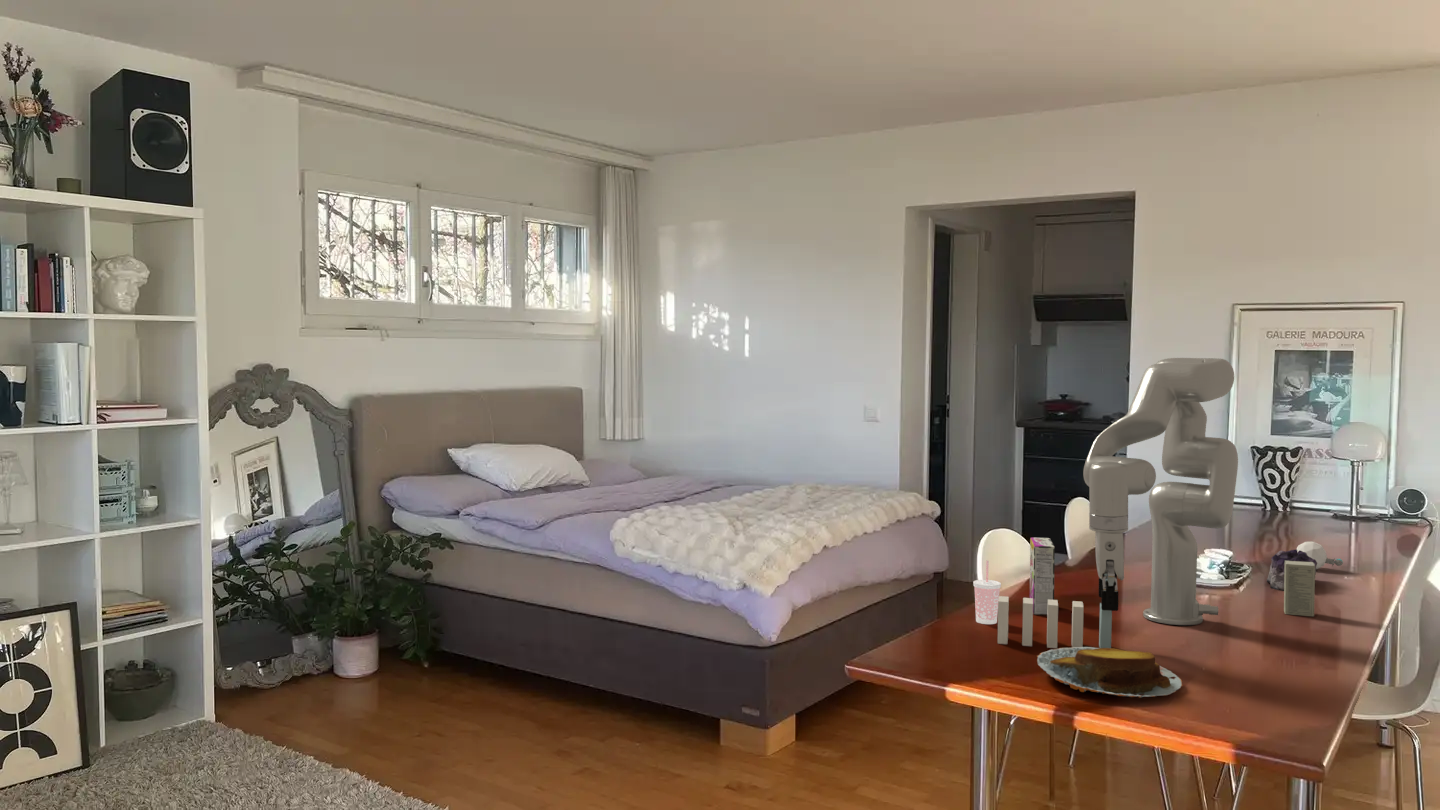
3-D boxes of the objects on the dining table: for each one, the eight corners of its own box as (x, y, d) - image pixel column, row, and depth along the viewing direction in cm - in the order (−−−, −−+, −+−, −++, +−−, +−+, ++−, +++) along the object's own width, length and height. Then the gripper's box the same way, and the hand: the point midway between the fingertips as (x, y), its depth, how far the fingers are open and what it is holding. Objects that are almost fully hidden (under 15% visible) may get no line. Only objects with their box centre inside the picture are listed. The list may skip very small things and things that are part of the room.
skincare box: (1312, 613, 250) (1314, 562, 249) (1314, 617, 246) (1316, 565, 245) (1282, 610, 252) (1284, 559, 252) (1283, 614, 248) (1285, 563, 248)
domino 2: (1032, 639, 226) (1033, 598, 226) (1032, 646, 221) (1032, 603, 221) (1022, 639, 227) (1023, 597, 226) (1022, 645, 222) (1023, 603, 221)
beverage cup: (985, 626, 237) (986, 564, 236) (966, 620, 242) (967, 559, 242) (1006, 623, 240) (1007, 561, 239) (987, 616, 245) (988, 557, 244)
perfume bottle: (1293, 551, 305) (1341, 560, 300) (1290, 572, 300) (1339, 581, 295) (1297, 532, 301) (1346, 541, 295) (1295, 553, 295) (1344, 562, 290)
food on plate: (1113, 656, 215) (1114, 624, 215) (1213, 695, 192) (1214, 659, 191) (1007, 670, 206) (1007, 636, 205) (1099, 713, 182) (1100, 674, 182)
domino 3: (1056, 641, 225) (1057, 599, 224) (1057, 648, 220) (1058, 605, 219) (1046, 641, 225) (1047, 599, 225) (1047, 647, 221) (1048, 604, 220)
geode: (1313, 595, 268) (1308, 556, 268) (1262, 595, 275) (1257, 557, 275) (1322, 578, 284) (1318, 541, 284) (1274, 578, 291) (1270, 542, 291)
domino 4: (1081, 643, 223) (1082, 601, 223) (1082, 650, 219) (1083, 607, 218) (1071, 643, 224) (1072, 601, 223) (1072, 649, 219) (1073, 606, 219)
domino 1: (1007, 638, 228) (1008, 596, 227) (1007, 644, 223) (1008, 602, 222) (998, 637, 228) (999, 596, 228) (997, 643, 223) (998, 601, 223)
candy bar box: (1028, 603, 258) (1029, 536, 257) (1049, 604, 257) (1050, 537, 256) (1032, 615, 247) (1033, 545, 246) (1054, 616, 246) (1056, 546, 245)
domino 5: (1109, 646, 222) (1110, 603, 221) (1111, 652, 217) (1111, 609, 216) (1098, 645, 222) (1099, 602, 222) (1100, 651, 218) (1101, 608, 217)
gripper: (1131, 531, 209) (1131, 616, 211) (1124, 514, 226) (1124, 593, 227) (1091, 530, 211) (1091, 614, 213) (1087, 513, 228) (1087, 591, 229)
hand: (1108, 603), depth 220 cm, fingers open, 9 cm apart
